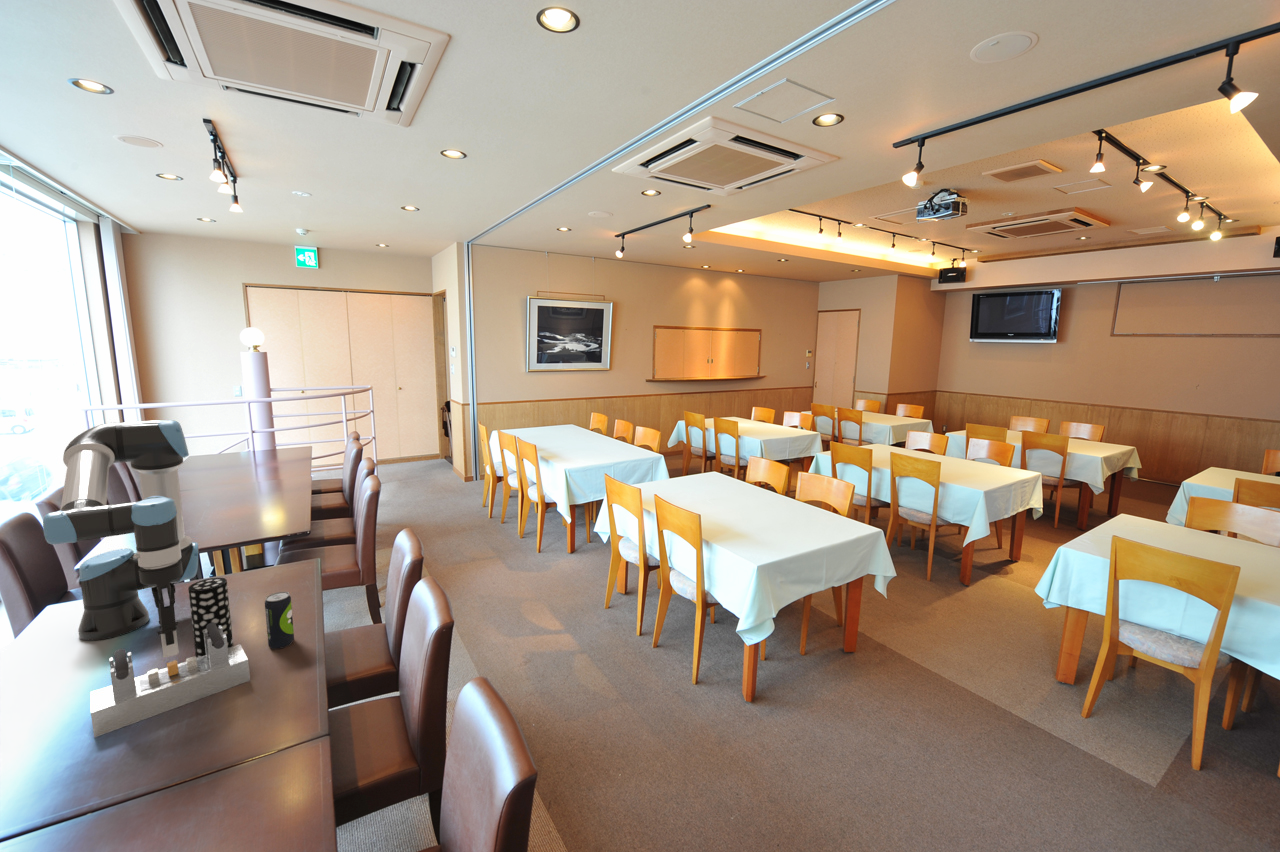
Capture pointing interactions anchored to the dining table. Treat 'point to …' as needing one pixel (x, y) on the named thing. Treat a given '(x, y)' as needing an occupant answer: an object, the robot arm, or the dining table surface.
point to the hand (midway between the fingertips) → (171, 654)
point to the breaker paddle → (172, 668)
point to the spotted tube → (209, 610)
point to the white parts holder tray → (167, 686)
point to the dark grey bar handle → (121, 664)
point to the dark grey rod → (215, 635)
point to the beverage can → (279, 620)
